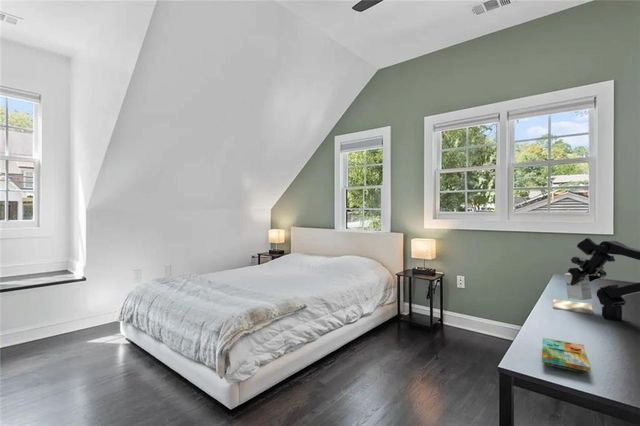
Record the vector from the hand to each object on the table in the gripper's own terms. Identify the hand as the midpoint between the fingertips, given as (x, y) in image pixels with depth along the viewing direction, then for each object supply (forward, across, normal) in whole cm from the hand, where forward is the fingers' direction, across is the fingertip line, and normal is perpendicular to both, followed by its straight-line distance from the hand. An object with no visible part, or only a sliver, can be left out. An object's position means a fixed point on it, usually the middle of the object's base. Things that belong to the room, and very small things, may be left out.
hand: (577, 284), depth 167 cm
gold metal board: (+12, -1, +5) cm, 13 cm away
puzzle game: (-14, +65, +41) cm, 78 cm away
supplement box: (+5, 0, +6) cm, 7 cm away
